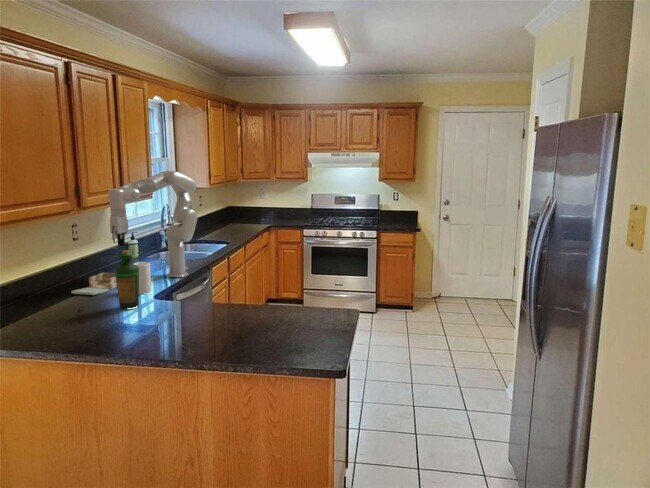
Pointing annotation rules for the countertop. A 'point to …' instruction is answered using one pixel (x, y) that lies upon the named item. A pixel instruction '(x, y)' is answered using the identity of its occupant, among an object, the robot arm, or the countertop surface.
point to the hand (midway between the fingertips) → (121, 245)
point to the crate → (103, 281)
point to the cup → (144, 277)
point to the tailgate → (90, 291)
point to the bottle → (127, 282)
